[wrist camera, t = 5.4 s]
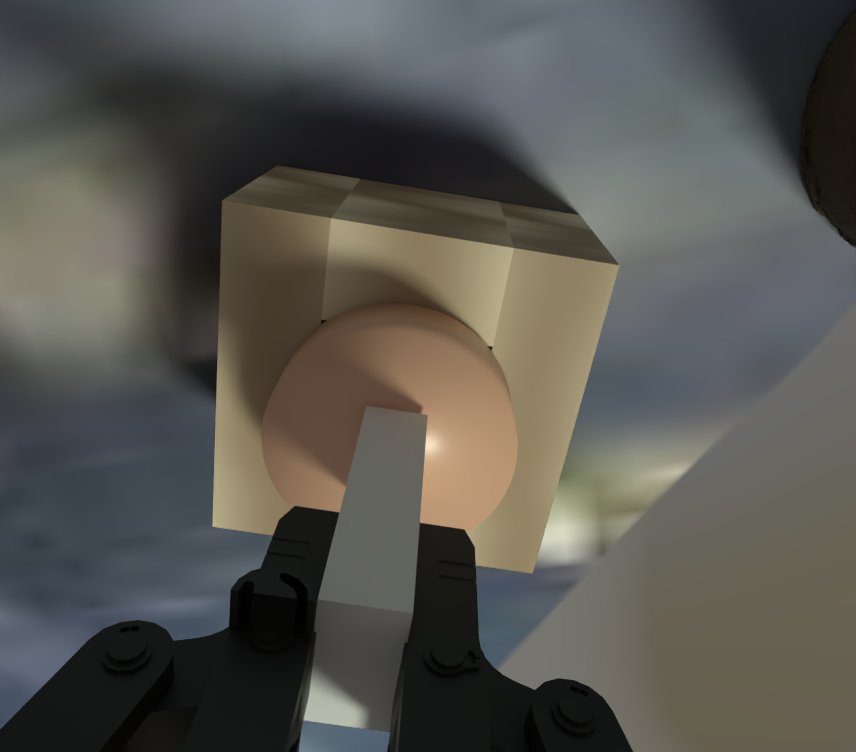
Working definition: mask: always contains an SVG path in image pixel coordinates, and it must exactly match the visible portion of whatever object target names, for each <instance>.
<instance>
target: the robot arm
mask: <svg viewBox="0 0 856 752" xmlns="http://www.w3.org/2000/svg"><path fill="white" fill-rule="evenodd" d="M427 418H428V415H425V414H418V413H412V412H406V411H399V410H393V409H386V408H380V407H373V406H367V405H366V409H365V413H364V417H363V421H362V425H361V429H360V433H359V437H358V441H357V445H356V449H355V453H354V457H353V461H352V465H351V469H350V473H349V477H348V481H347V485H346V489H345V493H344V497H343V501H342V504H341V508H340V512H334V511H327V510H321V509H314V508H307V507H300V506H294V507H293V508H292V509H291V510H289V511H288V512H287V513H286V514H285V515H284V516H283V517H281V518H280V519H279V521H278V524H277V526H276V529H275V532H274V534H273V537H272V541H271V542H270V545H269V548H268V550H267V554H266V555H265V558H264V561H263V563H262V566H261V568H260V569H257V570H253V571H250V572H249V573H247V574H246V575H244V576H242V577H241V578H239V579H238V580H237V582H236V583H235V585H234V586H233V587H232V589H231V597H230V619H229V627H227V628H226V629H224V630H223V631H220V632H218V633H215V634H213V635H210V636H205V637H200V638H194V639H185V640H177V641H173V639H172V638H171V636H170V634H169V633H168V631H167V630H166V629H164V628H162V627H161V626H159V625H157V624H156V623H152V622H146V621H141V620H136V621H127V622H120V623H117V624H115V625H112V626H110V627H107V628H104V629H103V630H101V631H100V632H99V633H97V634H96V635H95V636H93V637H92V638H91V639H89V640H88V641H87V642H86V643H85V644H84V645H83V646H82V647H81V648H80V649H79V650H78V651H77V652H76V653H75V654H74V655H73V656H72V657H71V658H70V659H69V660H68V662H67V663H66V664H65V665H64V666H63V667H62V668H61V669H60V670H59V671H58V672H57V673H56V674H55V675H54V676H53V677H52V678H51V679H50V680H49V681H48V682H47V683H46V684H45V685H44V686H43V687H42V688H41V689H40V690H39V691H38V692H37V693H36V694H35V695H34V696H33V697H32V698H31V699H30V700H29V701H28V702H27V703H26V704H25V705H24V706H23V707H22V708H21V709H20V710H19V711H18V712H17V713H16V714H15V715H14V716H13V717H12V718H11V719H10V720H9V721H8V722H7V723H6V724H5V725H4V726H3V727H2V728H1V729H0V752H299V744H300V735H301V728H302V724H303V720H306V721H313V722H320V723H328V724H335V725H342V726H349V727H356V728H364V729H371V730H378V731H385V732H390V739H389V745H388V750H387V752H633V751H632V749H631V747H630V745H629V743H628V741H627V739H626V737H625V735H624V733H623V731H622V729H621V727H620V725H619V723H618V721H617V719H616V717H615V715H614V713H613V711H612V710H611V708H610V707H609V705H608V704H607V703H606V701H605V700H604V698H603V697H602V696H600V695H599V694H598V693H596V692H595V691H594V690H593V689H591V688H590V687H589V686H586V685H584V684H581V683H579V682H577V681H574V680H567V679H554V680H550V681H547V682H544V683H543V684H542V685H541V686H539V687H538V688H537V689H536V690H533V689H531V688H529V687H527V686H524V685H522V684H520V683H517V682H515V681H513V680H511V679H509V678H508V677H506V676H504V675H502V674H501V673H500V672H499V671H497V670H496V669H495V668H494V667H493V666H492V665H491V664H490V663H489V661H488V660H487V659H486V658H485V656H484V653H483V652H482V650H481V647H480V642H479V631H478V608H477V584H476V569H475V566H476V560H475V546H474V545H473V543H472V541H471V540H470V538H469V536H468V535H467V533H466V531H465V530H464V529H459V528H452V527H445V526H439V525H432V524H425V523H420V513H421V499H422V486H423V472H424V459H425V445H426V432H427Z"/></svg>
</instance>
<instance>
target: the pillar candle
mask: <svg viewBox="0 0 856 752" xmlns="http://www.w3.org/2000/svg"><path fill="white" fill-rule="evenodd" d="M808 105H809V107H808V108H807V109H806V110H805V116H804V120H803V129H802V156H803V163H804V167H803V168H804V170H805V176H806V183H807V187H808V190H809V193H810V195H811V198H812V200H813V204H814V206H815V208H816V209H817V211H818V212H819V213H820V215H824V216H826V217H827V219H828V220H829V221H830V222H831V223H832V225H833V226H836V227H837V228H838V229H839V231H840V232H841V233H842V236H843V238H844V239H845V240H846V241H847V242H848V243H849V244H850V245H852V246H854V247H856V11H855V12H854V13H853V14H852V16H851V17H850V18H849V20H848V22H847V23H846V24H845V25H844V26H843V28H842V29H841V30H840V32H839V33H838V34H837V36H836V37H835V39H834V40H833V42H832V43H831V45H830V47H829V49H828V51H827V55H826V57H825V59H823V60H822V62H821V64H820V67H819V69H818V72H817V74H816V77H815V80H814V83H813V86H812V88H811V92H810V93H809V97H808Z"/></svg>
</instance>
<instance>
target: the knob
mask: <svg viewBox="0 0 856 752" xmlns="http://www.w3.org/2000/svg"><path fill="white" fill-rule="evenodd" d="M366 405H367V406H373V407H380V408H386V409H393V410H399V411H406V412H412V413H418V414H425V415H428V418H427V432H426V445H425V459H424V472H423V486H422V499H421V513H420V523H425V524H432V525H439V526H445V527H452V528H459V529H464V530H465V531H466V533H468V532H470V531H471V530H473V529H474V528H476V527H477V526H478V525H479V524H480V523H482V522H483V521H484V520H485V519H486V518H487V517H488V516H489V515H490V514H491V513H492V512H493V511H494V510H495V508H496V507H497V506H498V504H499V503H500V501H501V500H502V498H503V497H504V495H505V493H506V491H507V489H508V487H509V485H510V483H511V480H512V477H513V474H514V471H515V467H516V461H517V448H518V440H517V433H516V426H515V420H514V414H513V408H512V402H511V396H510V390H509V387H508V383H507V380H506V376H505V374H504V372H503V370H502V368H501V366H500V363H499V362H498V360H497V359H496V357H495V356H494V354H493V352H492V351H491V350H490V349H489V347H488V346H487V345H486V344H485V343H484V342H483V340H482V339H480V338H479V337H478V336H477V335H476V334H475V333H474V332H473V331H472V330H470V329H469V328H468V327H466V326H465V325H463V324H462V323H460V322H459V321H457V320H455V319H453V318H451V317H449V316H447V315H445V314H443V313H441V312H438V311H435V310H432V309H430V308H426V307H422V306H417V305H413V304H404V303H377V304H371V305H364V306H361V307H357V308H354V309H350V310H347V311H345V312H343V313H340V314H338V315H336V316H334V317H332V318H330V319H329V320H327V321H326V322H324V323H322V324H321V325H319V326H318V327H317V328H316V329H315V330H313V331H312V332H311V333H310V334H309V335H308V336H307V337H306V338H305V339H304V340H303V341H302V342H301V344H300V345H299V346H298V348H297V349H296V351H295V352H294V354H293V355H292V357H291V358H290V360H289V362H288V364H287V366H286V368H285V370H284V372H283V373H282V375H281V377H280V379H279V381H278V383H277V385H276V386H275V388H274V390H273V392H272V394H271V397H270V399H269V401H268V403H267V406H266V410H265V413H264V416H263V423H262V430H261V443H262V452H263V458H264V462H265V465H266V468H267V471H268V474H269V476H270V479H271V481H272V483H273V485H274V487H275V489H276V490H277V492H278V493H279V495H280V496H281V498H282V499H283V500H284V502H285V503H286V504H287V505H288V506H289V508H290V509H292V508H293V507H294V506H300V507H307V508H314V509H321V510H327V511H334V512H340V508H341V504H342V501H343V497H344V493H345V489H346V485H347V481H348V477H349V473H350V469H351V465H352V461H353V457H354V453H355V449H356V445H357V441H358V437H359V433H360V429H361V425H362V421H363V417H364V413H365V409H366Z"/></svg>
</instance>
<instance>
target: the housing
mask: <svg viewBox="0 0 856 752" xmlns="http://www.w3.org/2000/svg"><path fill="white" fill-rule="evenodd" d="M618 269H619V264H618V263H617V262H616V260H615V259H614V258H613V256H612V255H611V254H610V253H609V251H608V250H607V249H606V248H605V246H604V245H603V244H602V242H601V241H600V240H599V239H598V237H597V236H596V235H595V234H594V232H593V231H592V230H591V229H590V227H589V226H588V225H587V223H586V222H585V221H584V220H583V218H582V217H581V216H580V215H576V214H570V213H564V212H558V211H552V210H546V209H540V208H534V207H528V206H522V205H516V204H510V203H504V202H498V201H492V200H486V199H480V198H474V197H468V196H461V195H455V194H449V193H443V192H437V191H431V190H425V189H419V188H413V187H407V186H401V185H395V184H389V183H383V182H377V181H371V180H365V179H359V178H353V177H347V176H341V175H335V174H329V173H323V172H317V171H311V170H305V169H298V168H292V167H286V166H280V165H278V166H276V167H274V168H273V169H271V170H270V171H268V172H266V173H265V174H263V175H262V176H260V177H259V178H257V179H255V180H254V181H252V182H251V183H249V184H247V185H246V186H244V187H243V188H241V189H240V190H238V191H236V192H235V193H233V194H232V195H230V196H228V197H227V198H225V199H224V200H222V223H221V257H220V291H219V326H218V360H217V394H216V428H215V462H214V496H213V527H219V528H226V529H233V530H240V531H246V532H253V533H260V534H267V535H273V534H274V532H275V529H276V526H277V524H278V521H279V519H280V518H281V517H283V516H284V515H285V514H286V513H287V512H288V511H289V510H291V509H290V508H289V506H288V505H287V504H286V503H285V502H284V500H283V499H282V498H281V496H280V495H279V493H278V492H277V490H276V489H275V487H274V485H273V483H272V481H271V479H270V476H269V474H268V471H267V468H266V465H265V462H264V458H263V452H262V443H261V430H262V423H263V416H264V413H265V410H266V406H267V403H268V401H269V399H270V397H271V394H272V392H273V390H274V388H275V386H276V385H277V383H278V381H279V379H280V377H281V375H282V373H283V372H284V370H285V368H286V366H287V364H288V362H289V360H290V358H291V357H292V355H293V354H294V352H295V351H296V349H297V348H298V346H299V345H300V344H301V342H302V341H303V340H304V339H305V338H306V337H307V336H308V335H309V334H310V333H311V332H312V331H313V330H315V329H316V328H317V327H318V326H319V325H321V324H322V323H324V322H326V321H327V320H329V319H330V318H332V317H334V316H336V315H338V314H340V313H343V312H345V311H347V310H350V309H354V308H357V307H361V306H364V305H371V304H377V303H404V304H413V305H417V306H422V307H426V308H430V309H432V310H435V311H438V312H441V313H443V314H445V315H447V316H449V317H451V318H453V319H455V320H457V321H459V322H460V323H462V324H463V325H465V326H466V327H468V328H469V329H470V330H472V331H473V332H474V333H475V334H476V335H477V336H478V337H479V338H480V339H482V340H483V342H484V343H485V344H486V345H487V346H488V347H489V349H490V350H491V351H492V352H493V354H494V356H495V357H496V359H497V360H498V362H499V363H500V366H501V368H502V370H503V372H504V374H505V376H506V380H507V383H508V387H509V390H510V396H511V402H512V408H513V414H514V420H515V426H516V433H517V440H518V448H517V461H516V467H515V471H514V474H513V477H512V480H511V483H510V485H509V487H508V489H507V491H506V493H505V495H504V497H503V498H502V500H501V501H500V503H499V504H498V506H497V507H496V508H495V510H494V511H493V512H492V513H491V514H490V515H489V516H488V517H487V518H486V519H485V520H484V521H483V522H482V523H480V524H479V525H478V526H477V527H476V528H474V529H473V530H471V531H470V532H468V533H467V535H468V536H469V538H470V540H471V541H472V543H473V545H474V546H475V560H476V565H478V566H485V567H492V568H499V569H506V570H513V571H519V572H526V573H533V570H534V567H535V563H536V560H537V556H538V553H539V549H540V546H541V542H542V539H543V535H544V531H545V528H546V524H547V521H548V517H549V514H550V510H551V507H552V503H553V500H554V496H555V492H556V489H557V485H558V482H559V478H560V475H561V471H562V468H563V464H564V461H565V457H566V453H567V450H568V446H569V443H570V439H571V436H572V432H573V429H574V425H575V422H576V418H577V414H578V411H579V407H580V404H581V400H582V397H583V393H584V390H585V386H586V383H587V379H588V375H589V372H590V368H591V365H592V361H593V358H594V354H595V351H596V347H597V343H598V340H599V336H600V333H601V329H602V326H603V322H604V319H605V315H606V312H607V308H608V304H609V301H610V297H611V294H612V290H613V287H614V283H615V280H616V276H617V273H618Z"/></svg>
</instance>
